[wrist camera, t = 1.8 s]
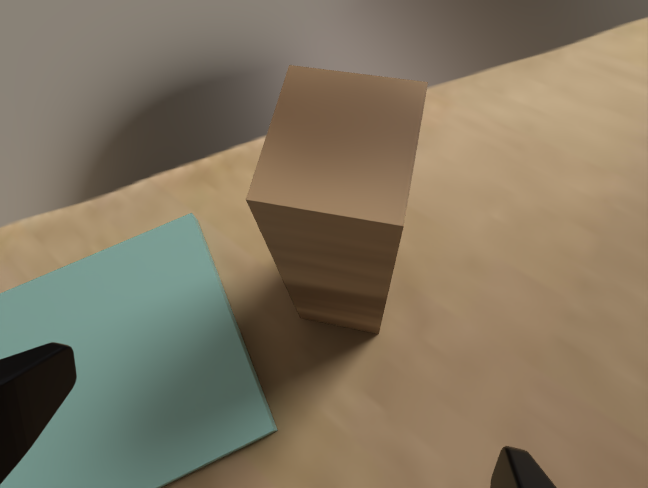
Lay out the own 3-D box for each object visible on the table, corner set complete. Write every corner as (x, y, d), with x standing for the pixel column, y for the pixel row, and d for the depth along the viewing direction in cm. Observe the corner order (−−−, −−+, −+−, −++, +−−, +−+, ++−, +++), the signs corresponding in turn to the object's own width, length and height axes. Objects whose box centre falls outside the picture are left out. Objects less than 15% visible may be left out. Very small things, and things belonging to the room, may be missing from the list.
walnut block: (378, 333, 22) (403, 226, 11) (300, 317, 23) (245, 199, 11) (393, 251, 24) (427, 82, 13) (319, 238, 25) (289, 65, 13)
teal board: (23, 554, 20) (6, 560, 19) (-14, 310, 24) (-28, 305, 23) (277, 430, 21) (274, 430, 20) (197, 220, 25) (191, 212, 25)
